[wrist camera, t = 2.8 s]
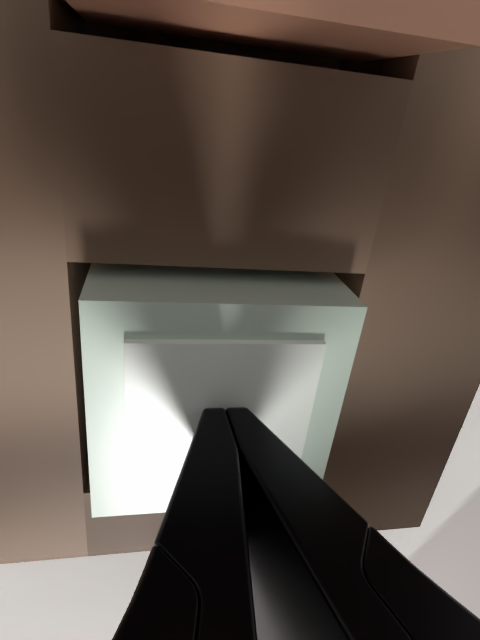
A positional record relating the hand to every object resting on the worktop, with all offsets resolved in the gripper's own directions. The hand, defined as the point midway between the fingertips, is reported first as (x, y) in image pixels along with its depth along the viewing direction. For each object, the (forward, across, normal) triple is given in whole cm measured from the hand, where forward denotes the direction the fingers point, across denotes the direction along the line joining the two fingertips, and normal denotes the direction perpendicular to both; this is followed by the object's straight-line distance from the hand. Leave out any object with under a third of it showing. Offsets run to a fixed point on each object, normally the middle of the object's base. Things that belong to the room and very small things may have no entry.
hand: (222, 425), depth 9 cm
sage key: (+4, 0, 0) cm, 4 cm away
